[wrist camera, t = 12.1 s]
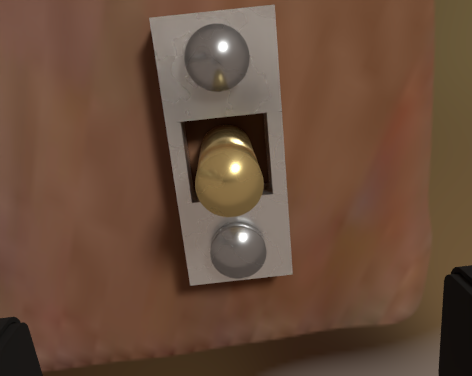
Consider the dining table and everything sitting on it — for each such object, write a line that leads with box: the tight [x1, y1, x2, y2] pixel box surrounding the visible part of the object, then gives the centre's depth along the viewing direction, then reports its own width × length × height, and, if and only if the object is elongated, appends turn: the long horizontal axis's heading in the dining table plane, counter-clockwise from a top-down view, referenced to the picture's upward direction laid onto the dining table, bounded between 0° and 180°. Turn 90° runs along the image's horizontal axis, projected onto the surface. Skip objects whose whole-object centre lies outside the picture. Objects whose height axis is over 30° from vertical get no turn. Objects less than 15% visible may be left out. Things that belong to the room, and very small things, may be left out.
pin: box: [195, 124, 264, 217], centre depth 25 cm, size 3×3×8 cm
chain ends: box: [149, 5, 293, 286], centre depth 27 cm, size 17×7×4 cm, turn 6°
